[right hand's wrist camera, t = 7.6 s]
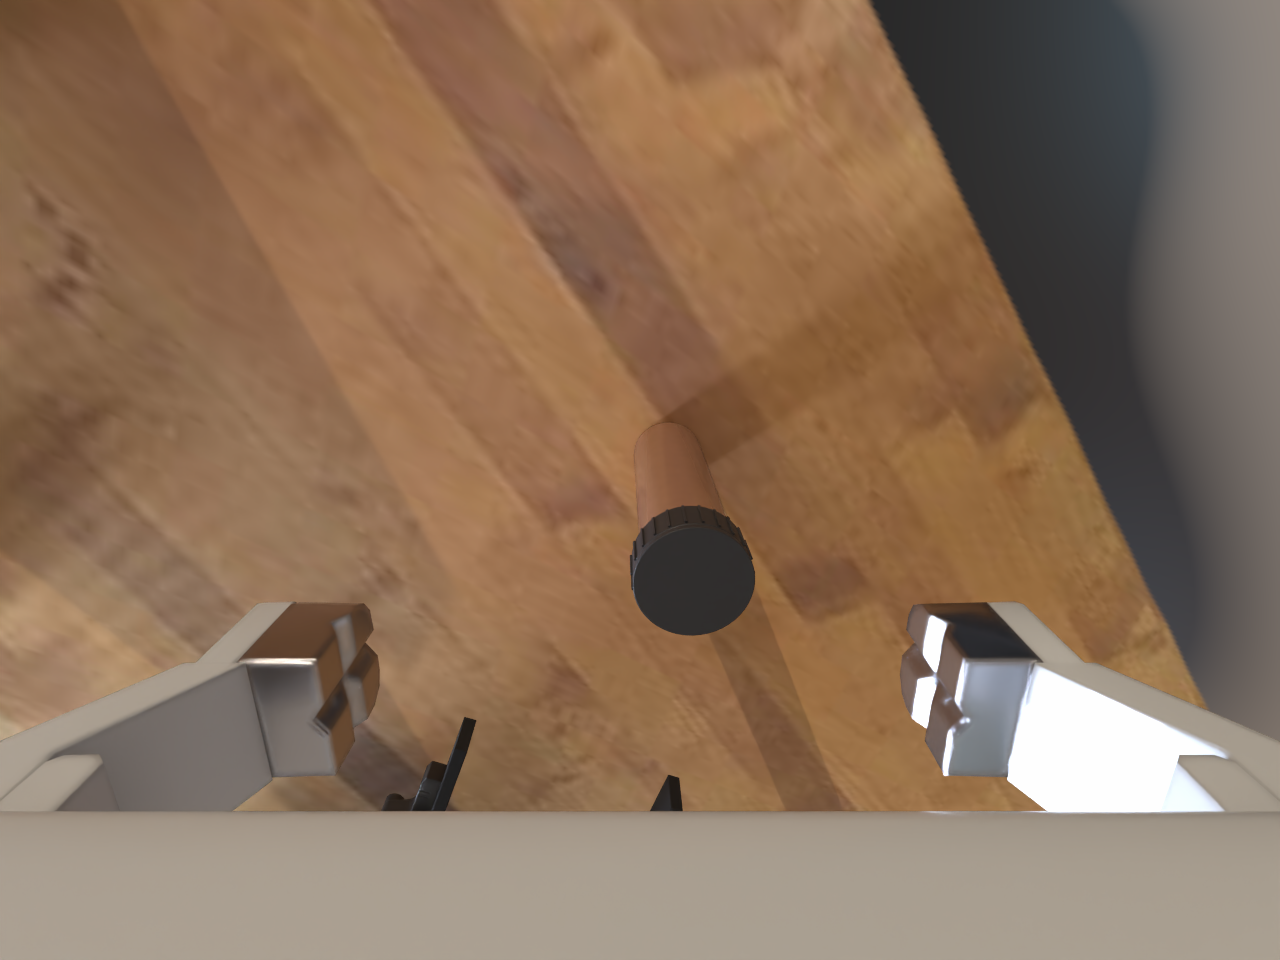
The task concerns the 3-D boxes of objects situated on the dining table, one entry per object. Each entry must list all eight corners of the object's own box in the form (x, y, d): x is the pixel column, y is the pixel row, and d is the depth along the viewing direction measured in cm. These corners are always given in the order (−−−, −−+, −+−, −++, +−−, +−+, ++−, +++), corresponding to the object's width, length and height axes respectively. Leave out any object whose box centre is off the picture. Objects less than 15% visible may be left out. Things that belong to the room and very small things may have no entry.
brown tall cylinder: (629, 427, 41) (634, 538, 27) (697, 418, 41) (739, 524, 26) (638, 489, 43) (648, 628, 28) (704, 481, 42) (747, 615, 28)
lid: (622, 511, 28) (622, 534, 26) (742, 495, 28) (752, 517, 26) (638, 615, 30) (639, 644, 28) (751, 600, 30) (761, 628, 28)
